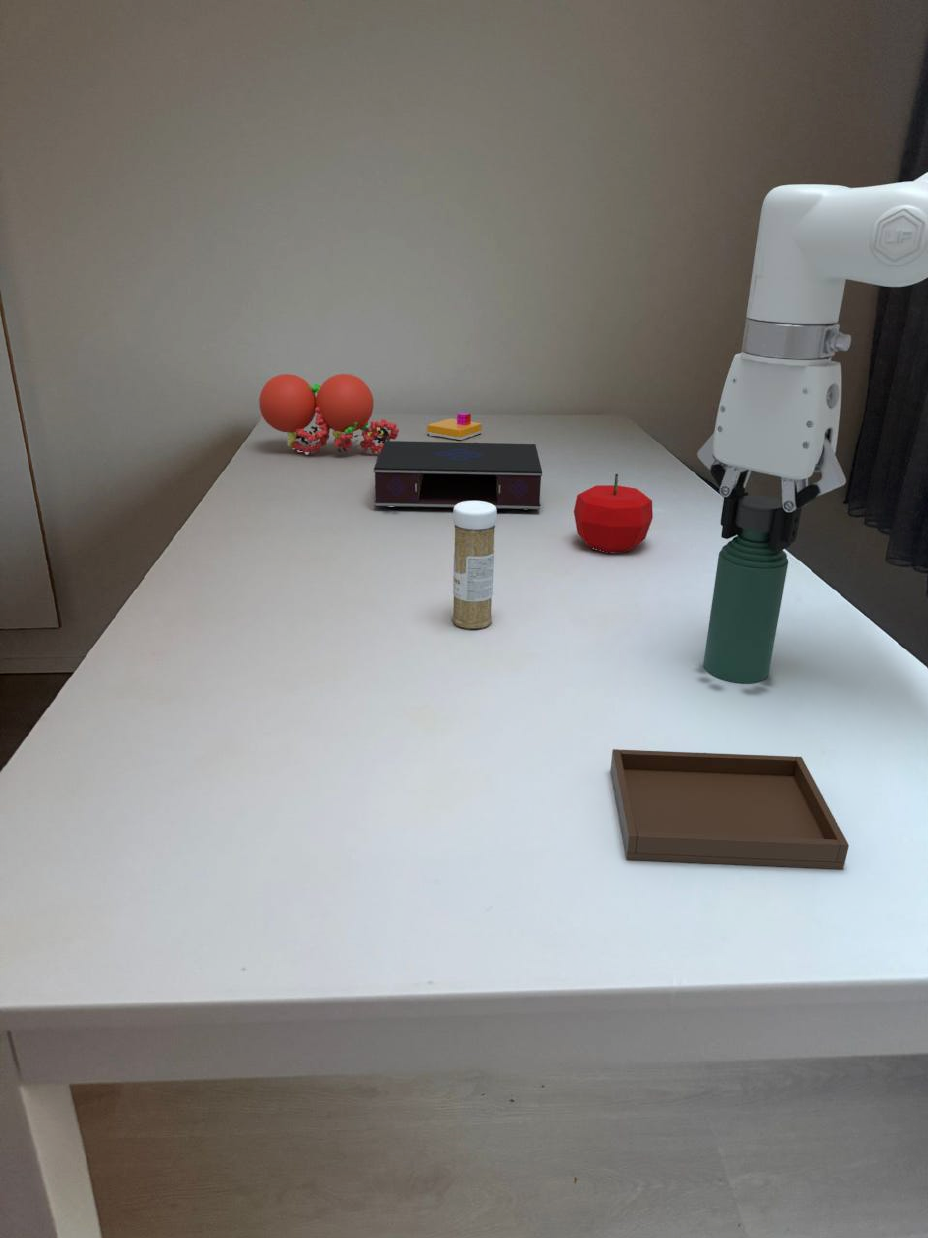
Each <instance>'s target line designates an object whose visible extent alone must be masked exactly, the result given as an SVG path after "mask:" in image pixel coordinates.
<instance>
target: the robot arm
mask: <svg viewBox="0 0 928 1238" xmlns="http://www.w3.org/2000/svg"><path fill="white" fill-rule="evenodd" d="M754 252H755V253H754V258H753V259H754V260H753V266H752V274H751V281H750V288H749V295H748V302H747V309H746V314H745V315H746V318H745V321H744V323H745V324H744V329H743V339H742V344H741V351H740V353H736V354H735V355H734V356H733V359H732V362H731V365H730V367H729V370H728V372H727V376H726V379H725V382H724V384H723V385H724V386H723V389H722V392H721V397H720V400H719V401H720V402H719V406H718V409H717V415H716V420H715V425H714V430H713V433H712V434H711V435H710V437H709V438H708V439H707V440H706V441H704V444H702V446H701V447H700V448H699V449H698V451H697V452H696V457H697V459H698V460H699V461H700V462H701V463H702V464H703V465H704V467H706V469H707V470H709V471H710V474H711V475H712V477H713V479H714V481H715V482H716V484H717V486H718V487H719V489H718V490H719V491H718V492H719V494H720V496H721V497H723V503H722V509H721V515H720V516H721V517H720V526H722V528H721V534H720V535H721V538H722V539H725V540H729V539H732V538H734V537H736V536H737V535H738V534H739V533H741V532H742V528H740V527H738V526H737V525H736V524H735V520H736V513H737V506H738V500H739V498H740V497H743V496H749V492H746V486H747V483H748V482H749V478H750V475H751V473H752V472H756V473H761V474H766V475H771V476H776V477H779V478H780V481H781V482H780V483H781V484H780V485H781V500H782V506H781V509H779V510H777V511H776V512H775V516H774V522H773V528H772V534H771V540H770V546H769V549H770V550H771V551H772V552H776V553H777V552H779V551H781V550H783V551H784V550H785V549H788V548H789V547H791V545H792V544H794V542H795V541H796V539H797V536H798V530H799V525H800V521H801V520H800V519H801V514H802V509H803V508H804V507H805V506H807V505H808V504H810V503H811V502H813V501H814V500H815V499H817V498H819V497H820V496H822V495H825V494H827V493H829V492H832V491H834V490H836V489H838V488H841V487H843V486H844V485H845V484H846V483H847V479H846V476H845V474H844V472H843V469H842V467H841V464H840V463H839V459H838V458H837V456H836V451H837V444H838V438H839V427H840V418H841V406H842V365H841V362H839V361H835V360H832V357H834V356H835V354H836V353H838V352H839V351H841V352H847V351H848V350H849V349H850V347H851V342H852V336H851V335H850V334H845V333H843V332H842V331H840V327H841V324H840V323H839V318H840V314H841V308H842V302H843V297H844V293H845V292H844V290H845V285H846V280H849V281H854V282H859V283H863V284H864V283H865V284H869V285H875V286H880V287H886V288H887V287H888V288H902V287H908V286H912V285H914V284H918V283H920V282H922V281H924V280H925V279H928V171H927V172H926V173H924V174H922V175H921V176H919V177H917V178H916V179H914V180H912V181H902V182H894V183H887V184H879V185H872V186H863V187H862V186H861V187H848V186H844V185H839V184H822V183H821V184H820V183H819V184H815V183H811V184H810V183H808V184H805V183H802V184H801V183H800V184H799V183H797V184H785V185H784V184H783V185H779V186H777V187H773V188H772V189H771V190H769V192H768V193H766V195H765V197H764V199H763V202H762V205H761V210H760V217H759V224H758V231H757V239H756V245H755V251H754ZM814 473H821V478H820V479H819V480H817V481H815V482H813V483H811V484H809V478H810V477H812V476H813V474H814Z"/></svg>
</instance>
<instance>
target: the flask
mask: <svg viewBox="0 0 928 1238" xmlns="http://www.w3.org/2000/svg"><path fill="white" fill-rule="evenodd" d="M771 534H772V532H754V531H749V530H746V529H743V528H742V532H741V533H739V534H738V535H736V536H734V537H732V538H731V539H732V540H729V541H728V542H727V543H726V544H725V545H723V546H722V547H721V550H720V551H719V553H718V557H717V565H716V571H715V578H714V586H713V593H712V600H711V608H710V614H709V621H708V629H707V635H706V641H705V649H704V656H703V662H702V663H703V664H702V666H703V668H704V670H705V671H706V672H707V673H708V674H710V675H711V676H713V677H715V678H717V679H720V680H723V681H725V682H726V681H727V682H731V683H737V684H752V683H753V684H754V683H759V682H762V681H764V680H765V679H767V678H768V676H769V673H770V669H771V663H772V658H773V652H774V651H773V650H774V646H775V640H776V636H777V635H776V634H777V629H778V624H779V618H780V612H781V606H782V601H783V595H784V590H785V585H786V584H785V583H786V578H787V572H788V567H789V559H788V555H787V553H786V552H785V551H784V549H783V550H781V551H779V552H777V553H776V552H772V551H771V550H770V549H769V546H770V540H771Z"/></svg>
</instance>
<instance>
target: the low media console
mask: <svg viewBox="0 0 928 1238" xmlns="http://www.w3.org/2000/svg"><path fill="white" fill-rule="evenodd" d="M383 442H384V441H383ZM373 473H374V483H375V484H374V486H375V487H374V489H375V490H374V491H375V493H374V495H375V500H374V502H373V503H374V507H387V506H395V507H399V508H400V507H402V508H403V507H404V508H405V507H406V508H412V507H413V508H452V509H454V506H455V505H456V504H458V503H460V502H465V501H483V502H488V503H491V504H493V505H494V506H495V507H496V509H503V510H504V509H505V510H521V509H529V510H541V486H542V485H541V483H542V476H543V469H542V465H541V461H540V457H539V453H538V448H537V445H536V443H500V442H499V443H498V442H497V443H496V442H457V441H455V442H453V441H451V442H450V441H449V442H448V441H445V442H444V441H403V440H402V441H401V440H399V441H398V440H395V441H394V440H390V441H387V440H386V441H385V442H384V444H383V447H382V449H381V452H380V454H378V457H377V460H376V462H375V464H374V467H373Z"/></svg>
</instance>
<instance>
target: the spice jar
mask: <svg viewBox="0 0 928 1238" xmlns="http://www.w3.org/2000/svg"><path fill="white" fill-rule="evenodd" d="M497 511H498V509H497V508H496V507H495V506H494V505H493V504H491V503H488V502H483V501H465V502H460V503H458V504H456V505H455V506H454V508H453V511H452V513H453V514H452V521H453V524H454V553H453V582H452V585H453V586H452V588H453V589H452V594H453V602H452V603H453V607H452V615H451V621H452V623H453V624H455V625H456V626H457V627H460V628H463V629H481V628H482V629H483V628H486V627H488V626H490V625H491V623H492V621H493V616H492V603H493V602H492V601H493V600H492V597H493V594H494V593H493V592H494V590H493V589H494V573H495V572H494V571H495V569H494V568H495V530H496V524H497V515H498V514H497V513H498V512H497Z"/></svg>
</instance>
